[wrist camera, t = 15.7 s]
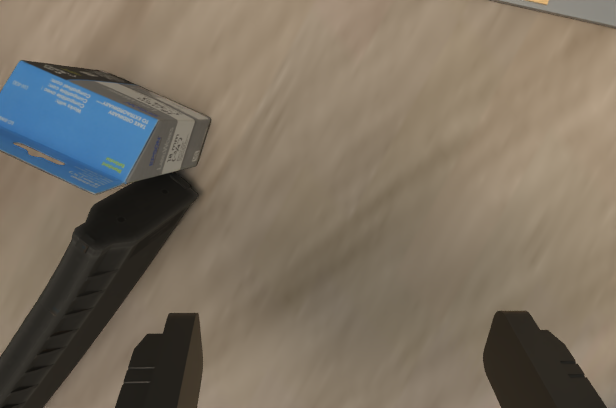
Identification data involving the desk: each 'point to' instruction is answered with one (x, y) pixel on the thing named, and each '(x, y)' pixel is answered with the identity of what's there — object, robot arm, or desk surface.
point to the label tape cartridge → (95, 126)
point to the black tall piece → (90, 286)
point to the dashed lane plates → (573, 9)
